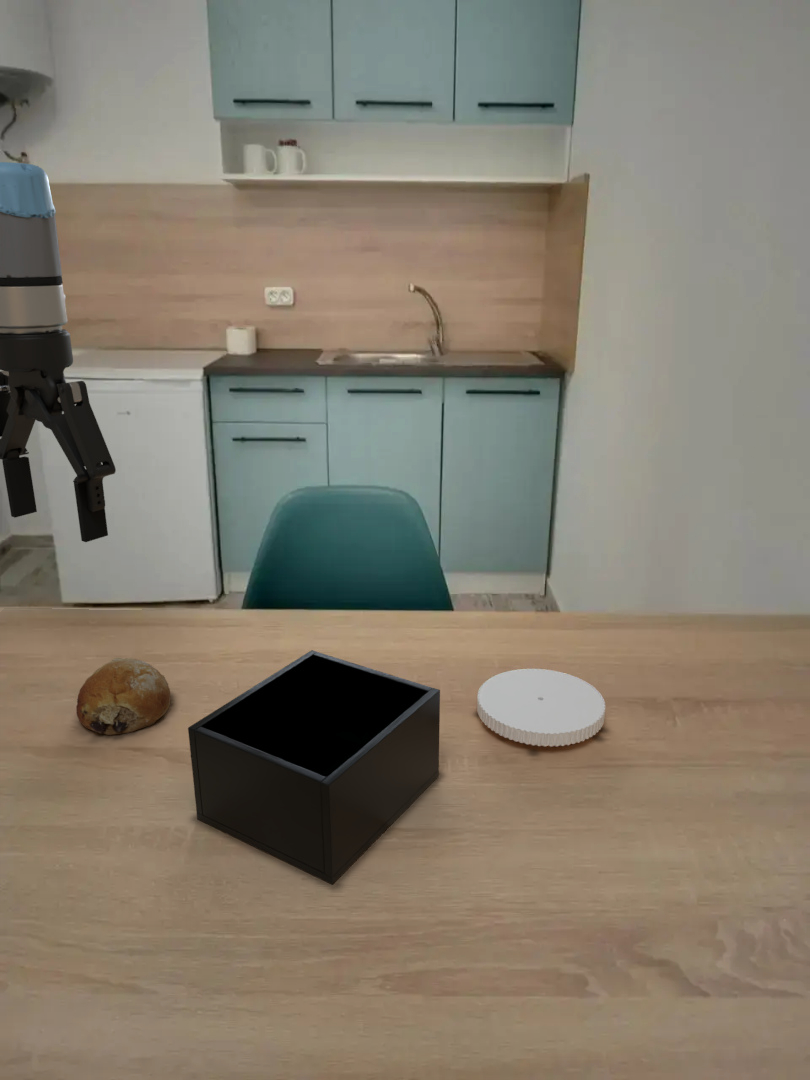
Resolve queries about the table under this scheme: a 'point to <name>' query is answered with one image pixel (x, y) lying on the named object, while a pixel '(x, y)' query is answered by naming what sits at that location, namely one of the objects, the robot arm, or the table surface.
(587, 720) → the plastic lid
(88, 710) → the bread roll
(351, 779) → the black storage bin
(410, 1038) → the table surface
